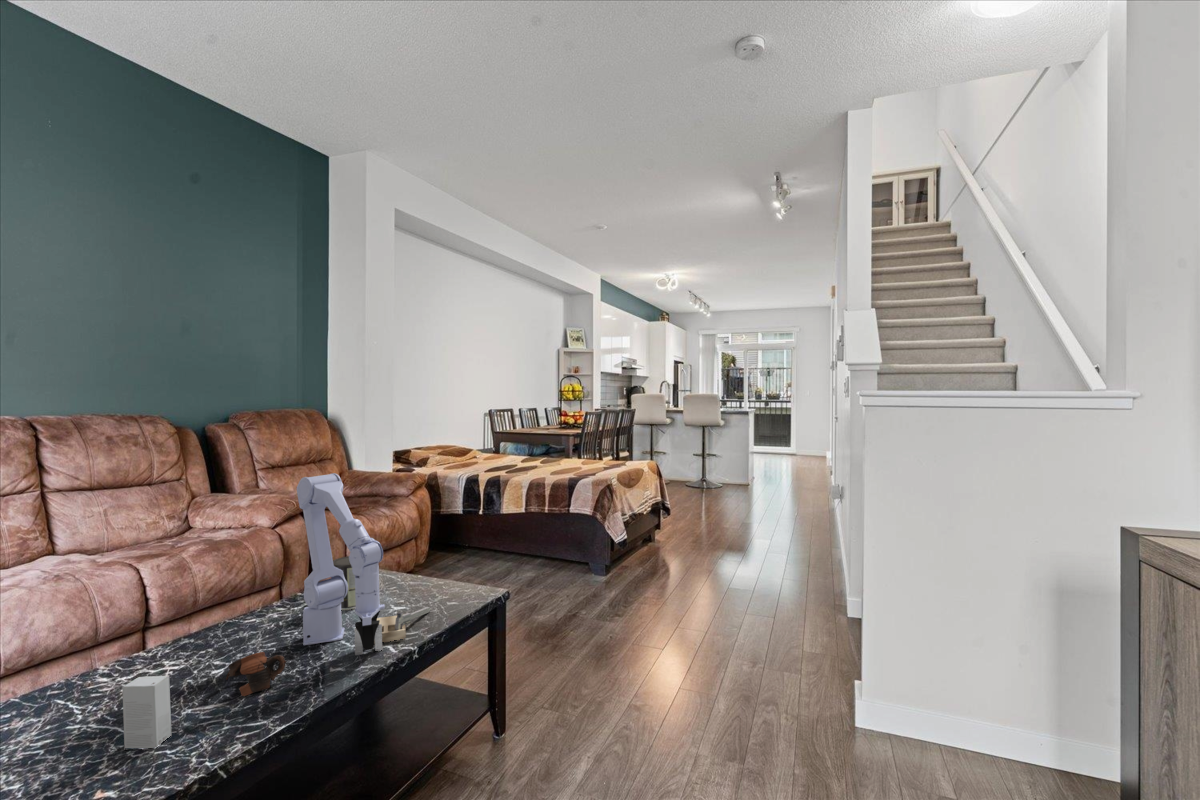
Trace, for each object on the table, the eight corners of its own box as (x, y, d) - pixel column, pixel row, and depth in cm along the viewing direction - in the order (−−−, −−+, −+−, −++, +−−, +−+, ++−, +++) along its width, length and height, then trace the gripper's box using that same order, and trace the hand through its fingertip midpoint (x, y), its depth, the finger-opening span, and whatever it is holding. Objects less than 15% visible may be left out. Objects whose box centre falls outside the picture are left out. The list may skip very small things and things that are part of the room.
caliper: (399, 638, 155) (398, 615, 155) (395, 638, 155) (394, 614, 155) (432, 610, 175) (431, 589, 175) (428, 610, 175) (428, 589, 175)
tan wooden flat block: (365, 645, 151) (365, 635, 151) (367, 628, 163) (367, 619, 163) (405, 639, 155) (405, 629, 155) (404, 622, 166) (404, 614, 166)
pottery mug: (225, 704, 124) (218, 666, 127) (239, 704, 133) (231, 668, 135) (286, 678, 129) (277, 642, 132) (295, 679, 137) (287, 645, 140)
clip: (355, 655, 146) (354, 631, 146) (355, 651, 148) (355, 628, 148) (382, 650, 148) (381, 627, 148) (382, 647, 150) (381, 624, 150)
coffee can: (329, 612, 176) (328, 566, 176) (334, 601, 186) (333, 557, 186) (366, 608, 179) (364, 562, 179) (368, 597, 189) (367, 554, 189)
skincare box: (172, 736, 112) (170, 674, 112) (156, 749, 108) (154, 685, 108) (140, 737, 112) (138, 676, 112) (122, 751, 108) (120, 687, 107)
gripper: (383, 597, 142) (385, 652, 142) (384, 580, 156) (386, 630, 156) (352, 601, 140) (354, 657, 140) (356, 583, 154) (357, 634, 154)
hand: (369, 643), depth 148 cm, fingers open, 7 cm apart
